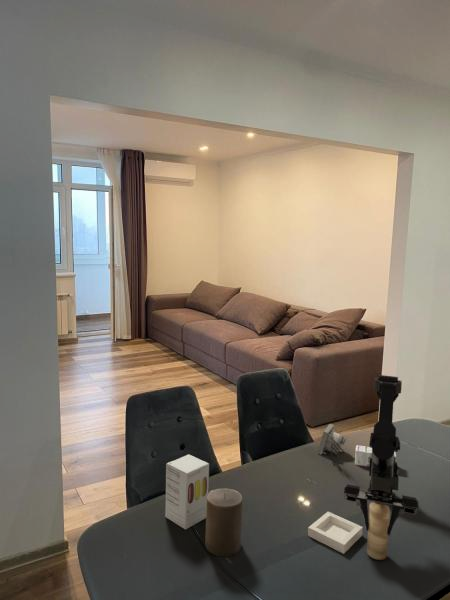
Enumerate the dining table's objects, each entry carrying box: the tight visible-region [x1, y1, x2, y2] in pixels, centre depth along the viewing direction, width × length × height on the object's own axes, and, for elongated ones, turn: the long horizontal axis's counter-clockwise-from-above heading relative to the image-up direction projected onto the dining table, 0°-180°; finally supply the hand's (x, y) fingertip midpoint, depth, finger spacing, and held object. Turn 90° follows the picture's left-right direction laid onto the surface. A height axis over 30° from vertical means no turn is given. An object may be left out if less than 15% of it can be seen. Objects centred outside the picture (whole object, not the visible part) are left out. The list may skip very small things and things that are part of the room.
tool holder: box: [307, 511, 364, 555], centre depth 126 cm, size 11×11×2 cm
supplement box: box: [164, 454, 210, 530], centre depth 133 cm, size 10×9×17 cm
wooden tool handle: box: [366, 501, 391, 561], centre depth 118 cm, size 5×5×13 cm
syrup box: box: [354, 445, 397, 468], centre depth 170 cm, size 6×6×14 cm
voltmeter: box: [317, 423, 347, 472], centre depth 174 cm, size 27×11×10 cm, turn 7°
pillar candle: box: [204, 488, 243, 558], centre depth 121 cm, size 10×10×15 cm
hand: (377, 532), depth 116 cm, fingers closed on wooden tool handle, 5 cm apart
